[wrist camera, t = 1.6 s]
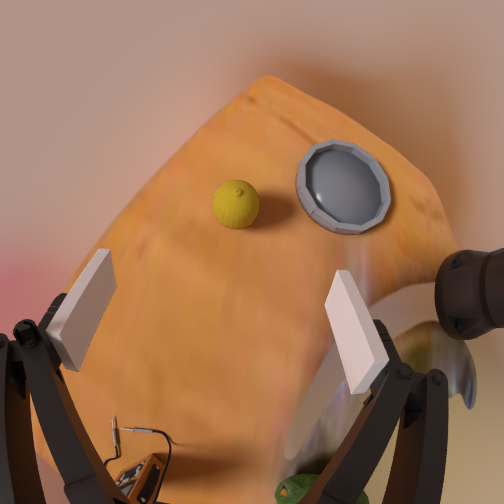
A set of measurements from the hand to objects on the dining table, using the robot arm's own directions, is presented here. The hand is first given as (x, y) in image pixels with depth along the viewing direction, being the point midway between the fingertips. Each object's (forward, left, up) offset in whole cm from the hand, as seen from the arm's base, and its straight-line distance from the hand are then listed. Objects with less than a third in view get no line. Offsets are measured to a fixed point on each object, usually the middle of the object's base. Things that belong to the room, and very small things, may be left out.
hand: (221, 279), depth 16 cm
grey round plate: (-16, -17, -20) cm, 30 cm away
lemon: (-1, -11, -20) cm, 23 cm away
